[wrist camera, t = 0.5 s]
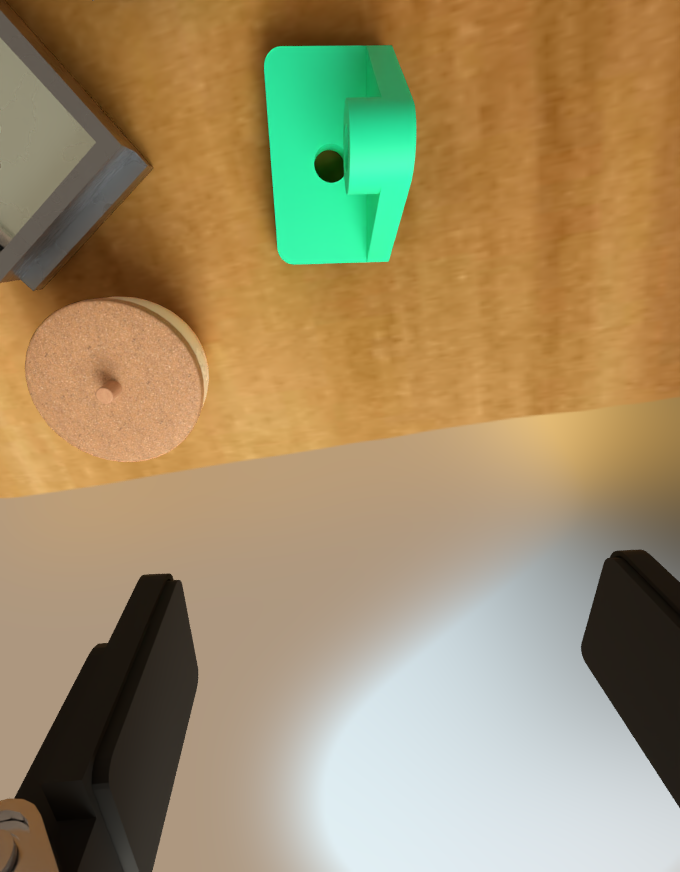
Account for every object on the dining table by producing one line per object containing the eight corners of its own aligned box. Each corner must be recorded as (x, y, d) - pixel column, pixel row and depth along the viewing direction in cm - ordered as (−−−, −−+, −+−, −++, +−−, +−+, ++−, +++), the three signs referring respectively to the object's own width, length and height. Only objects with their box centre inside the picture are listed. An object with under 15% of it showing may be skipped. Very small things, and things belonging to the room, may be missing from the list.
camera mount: (265, 61, 29) (246, -21, 20) (384, 60, 30) (421, -21, 20) (280, 262, 34) (271, 273, 25) (382, 259, 34) (411, 268, 25)
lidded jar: (198, 273, 34) (162, 286, 25) (237, 407, 38) (217, 457, 30) (56, 301, 34) (-28, 323, 25) (111, 431, 38) (54, 488, 30)
